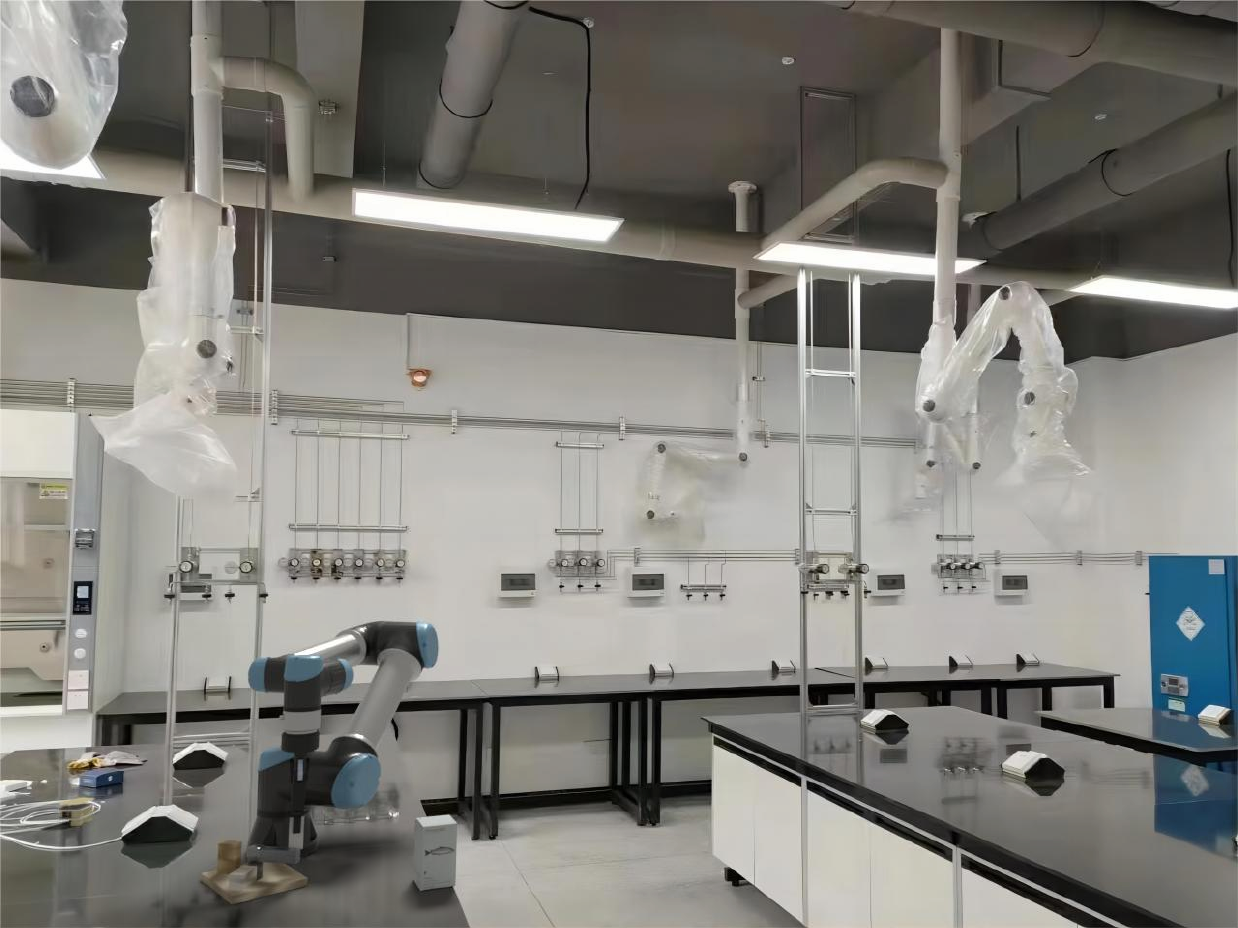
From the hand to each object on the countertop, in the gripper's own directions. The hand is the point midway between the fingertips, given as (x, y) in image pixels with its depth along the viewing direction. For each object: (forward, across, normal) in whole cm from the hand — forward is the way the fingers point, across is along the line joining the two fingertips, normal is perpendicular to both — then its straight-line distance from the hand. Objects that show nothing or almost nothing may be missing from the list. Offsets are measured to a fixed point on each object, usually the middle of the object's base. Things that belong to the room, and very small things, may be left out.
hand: (295, 847), depth 189 cm
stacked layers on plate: (+7, -60, -50) cm, 78 cm away
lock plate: (+7, -2, -8) cm, 10 cm away
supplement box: (+7, +10, +27) cm, 30 cm away
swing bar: (+2, +2, -4) cm, 5 cm away
